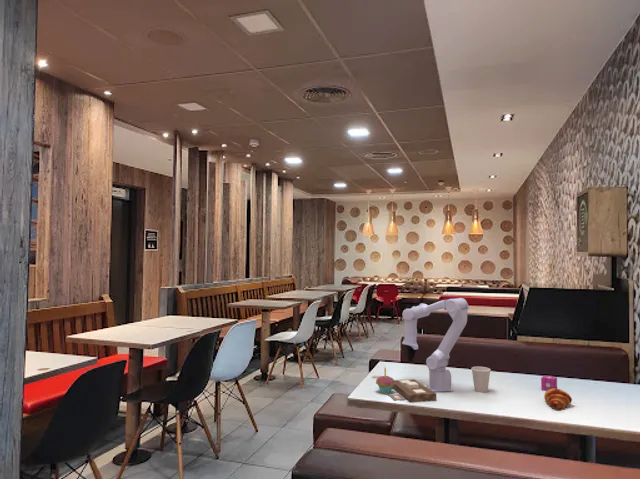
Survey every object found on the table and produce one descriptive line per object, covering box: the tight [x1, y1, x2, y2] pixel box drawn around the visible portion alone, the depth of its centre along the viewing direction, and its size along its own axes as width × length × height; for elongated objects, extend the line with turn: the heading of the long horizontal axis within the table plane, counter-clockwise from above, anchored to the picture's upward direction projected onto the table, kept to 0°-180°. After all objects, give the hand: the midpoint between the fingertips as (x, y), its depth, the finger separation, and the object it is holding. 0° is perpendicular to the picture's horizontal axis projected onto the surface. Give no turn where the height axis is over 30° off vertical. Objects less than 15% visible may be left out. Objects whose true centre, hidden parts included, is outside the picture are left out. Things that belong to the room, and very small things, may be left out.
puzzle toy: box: [540, 375, 558, 392], centre depth 211 cm, size 6×6×6 cm
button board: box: [392, 378, 437, 403], centre depth 204 cm, size 12×24×3 cm, turn 11°
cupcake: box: [375, 367, 395, 395], centre depth 206 cm, size 9×8×12 cm
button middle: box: [406, 382, 419, 388], centre depth 204 cm, size 4×4×3 cm
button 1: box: [398, 379, 410, 384], centre depth 212 cm, size 4×4×3 cm
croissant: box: [543, 388, 573, 409], centre depth 190 cm, size 21×10×8 cm, turn 151°
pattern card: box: [387, 393, 407, 402], centre depth 197 cm, size 5×8×1 cm, turn 11°
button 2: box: [412, 389, 426, 394], centre depth 196 cm, size 4×4×3 cm
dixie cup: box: [470, 366, 492, 393], centre depth 209 cm, size 8×8×10 cm
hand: (410, 361), depth 221 cm, fingers closed
